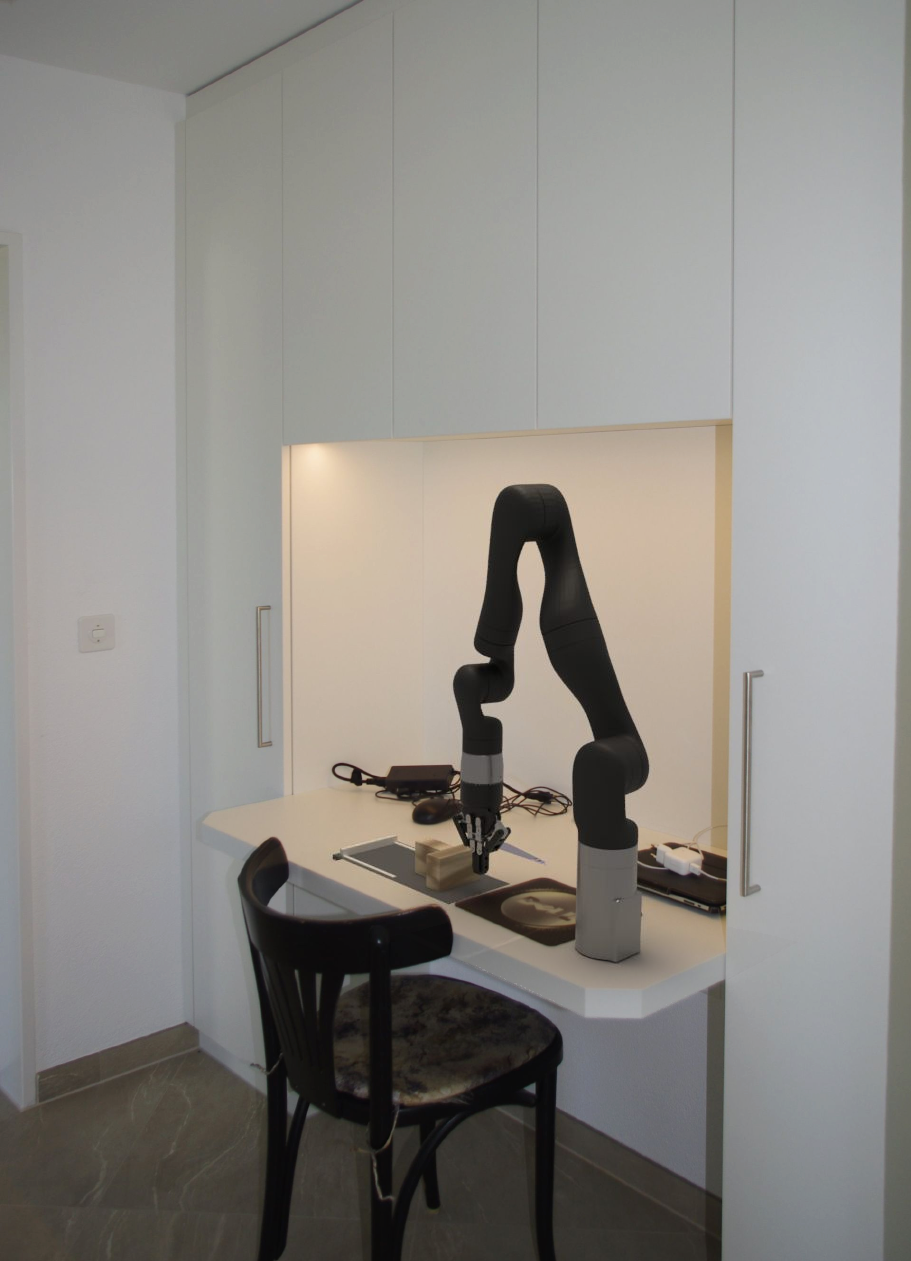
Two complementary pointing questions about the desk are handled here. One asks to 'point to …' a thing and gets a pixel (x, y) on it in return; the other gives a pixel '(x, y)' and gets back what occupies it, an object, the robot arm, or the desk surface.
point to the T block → (443, 864)
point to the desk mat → (408, 868)
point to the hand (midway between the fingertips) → (480, 873)
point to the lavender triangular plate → (520, 852)
